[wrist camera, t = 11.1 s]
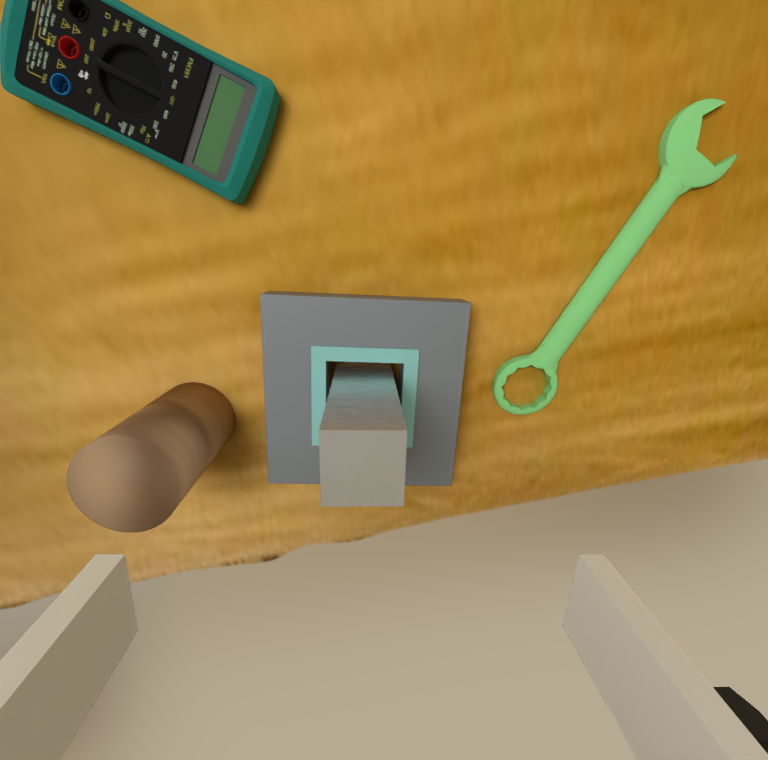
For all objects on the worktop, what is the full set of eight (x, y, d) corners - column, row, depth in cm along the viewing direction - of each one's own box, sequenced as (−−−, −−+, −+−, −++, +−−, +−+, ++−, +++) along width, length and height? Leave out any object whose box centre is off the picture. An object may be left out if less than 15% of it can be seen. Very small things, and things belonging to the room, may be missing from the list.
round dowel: (163, 450, 32) (76, 532, 22) (154, 381, 30) (57, 437, 20) (237, 451, 32) (183, 532, 22) (232, 383, 30) (172, 439, 21)
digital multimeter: (48, -31, 23) (5, -72, 20) (287, 99, 26) (277, 79, 23) (22, 99, 25) (-22, 78, 22) (248, 209, 27) (234, 203, 25)
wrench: (735, 138, 28) (683, 90, 27) (762, 129, 26) (707, 78, 25) (527, 422, 33) (476, 391, 32) (537, 431, 31) (484, 399, 30)
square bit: (338, 409, 31) (320, 506, 19) (337, 360, 30) (318, 429, 18) (388, 409, 32) (403, 506, 19) (389, 361, 30) (407, 430, 18)
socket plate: (276, 464, 33) (267, 484, 30) (270, 291, 29) (259, 294, 26) (444, 467, 33) (452, 487, 30) (461, 299, 29) (471, 303, 26)
